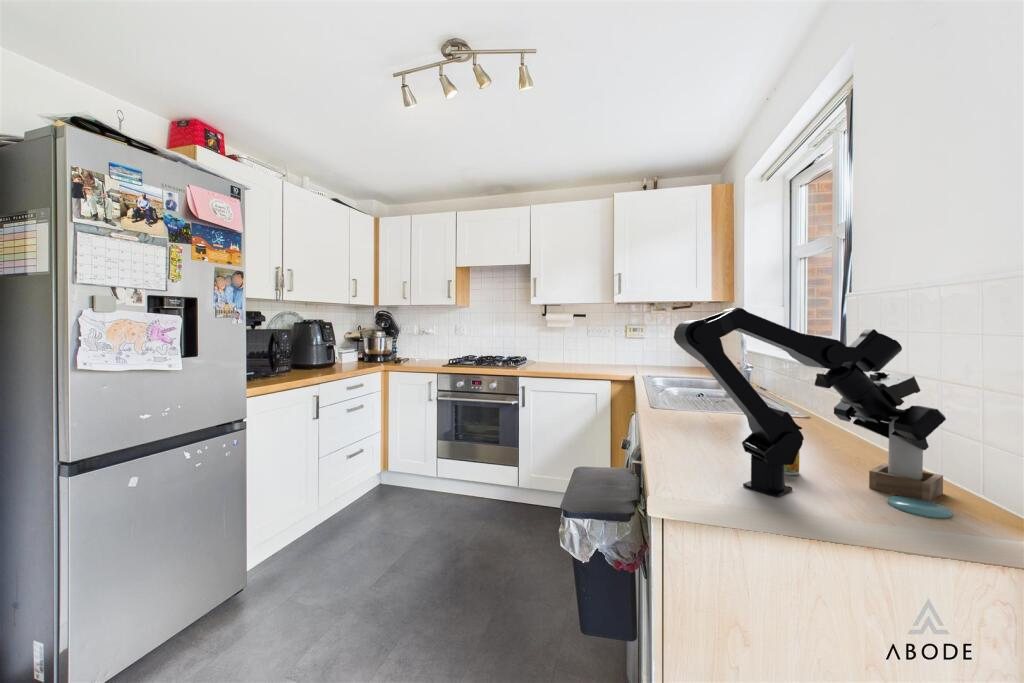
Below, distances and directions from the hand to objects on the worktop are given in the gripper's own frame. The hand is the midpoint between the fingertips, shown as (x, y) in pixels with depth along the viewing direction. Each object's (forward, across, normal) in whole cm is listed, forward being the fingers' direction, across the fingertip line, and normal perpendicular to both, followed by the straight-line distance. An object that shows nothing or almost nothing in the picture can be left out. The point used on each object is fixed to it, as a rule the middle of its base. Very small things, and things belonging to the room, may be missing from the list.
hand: (912, 444), depth 78 cm
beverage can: (+4, 0, +6) cm, 7 cm away
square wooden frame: (+6, 0, +7) cm, 9 cm away
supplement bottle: (-6, +10, +19) cm, 23 cm away
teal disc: (+2, -8, +11) cm, 14 cm away
